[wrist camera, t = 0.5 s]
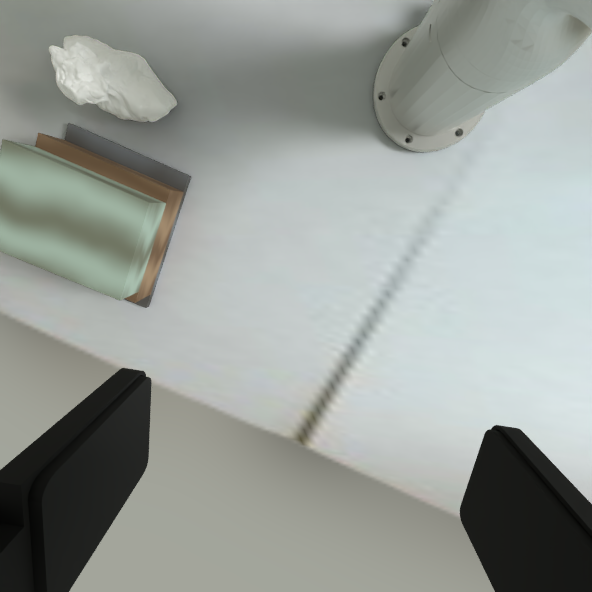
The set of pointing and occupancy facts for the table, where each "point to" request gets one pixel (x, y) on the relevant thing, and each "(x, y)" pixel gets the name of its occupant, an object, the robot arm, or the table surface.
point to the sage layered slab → (89, 211)
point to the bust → (110, 79)
